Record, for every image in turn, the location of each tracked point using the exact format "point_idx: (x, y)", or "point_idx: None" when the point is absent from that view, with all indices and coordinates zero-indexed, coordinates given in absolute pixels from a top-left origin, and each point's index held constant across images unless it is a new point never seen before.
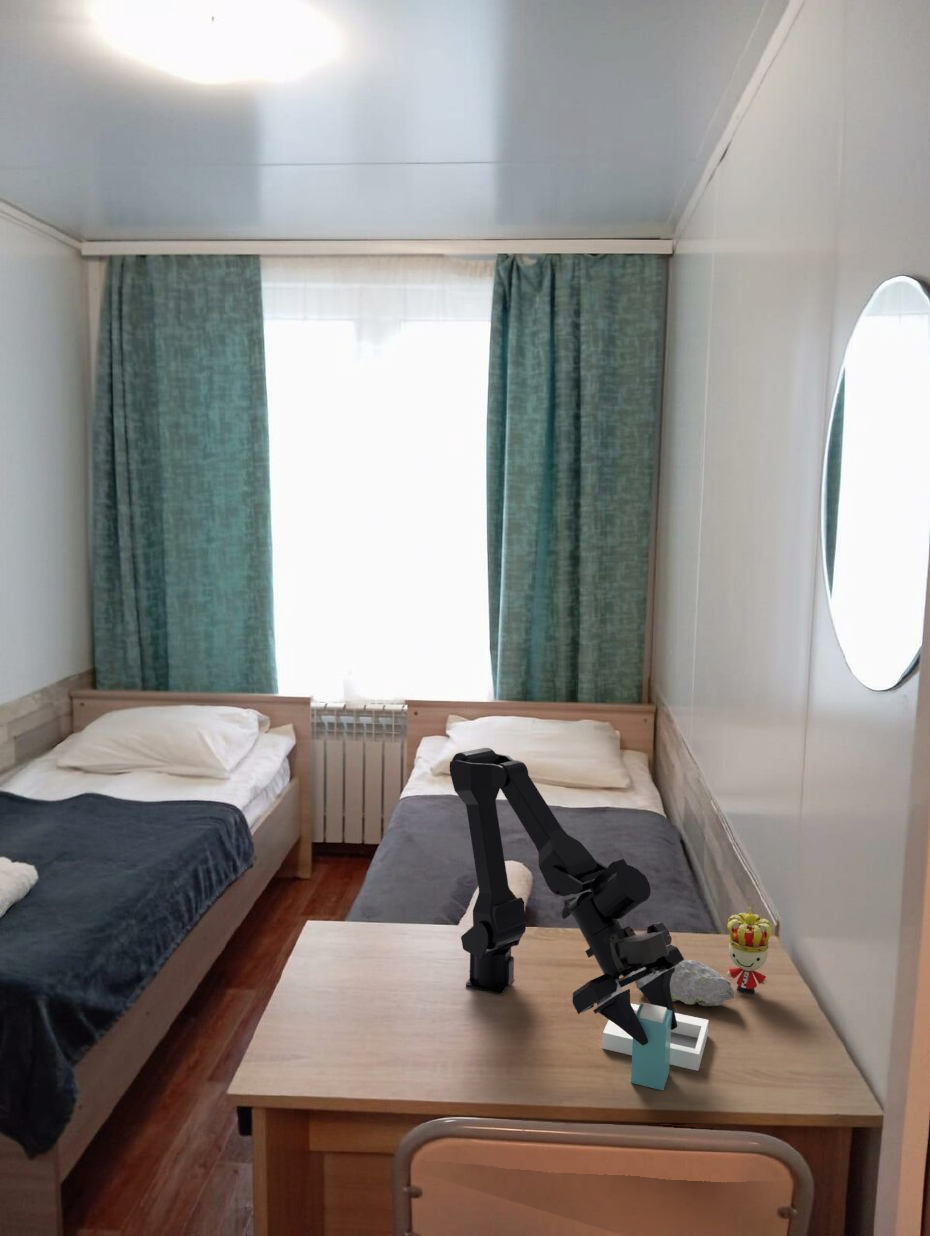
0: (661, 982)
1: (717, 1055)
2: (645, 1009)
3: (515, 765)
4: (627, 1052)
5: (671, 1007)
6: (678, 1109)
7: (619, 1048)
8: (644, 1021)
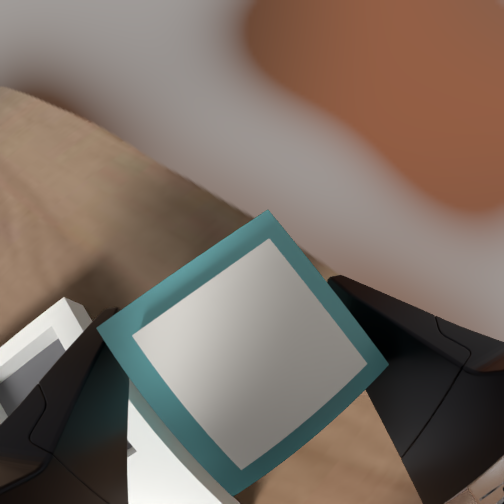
0: (28, 497)
1: (2, 324)
2: (298, 393)
3: None
4: (204, 469)
5: (72, 360)
6: (249, 217)
7: (220, 487)
8: (350, 318)
